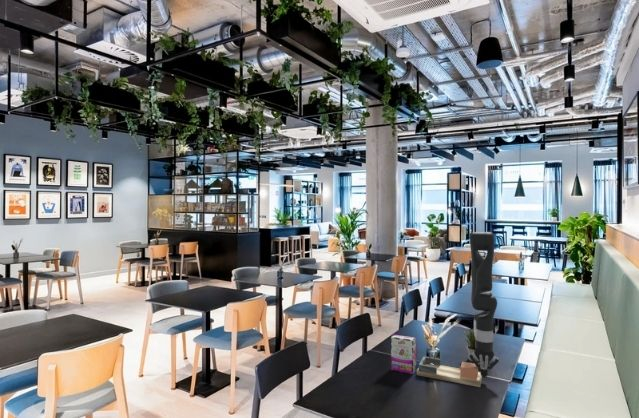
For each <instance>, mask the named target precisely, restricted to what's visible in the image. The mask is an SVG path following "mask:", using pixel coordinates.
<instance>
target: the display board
mask: <svg viewBox="0 0 639 418" xmlns="http://www.w3.org/2000/svg"><path fill="white" fill-rule="evenodd" d="M429 357H430V356H422V359H421V360H420V362H419V364H418V368H416V376H421V377H426V378H429V379H430V378H431V379H436V380H441V381H445V382H446V381H447V382H451V383H457V384H462V385H466V386H473V387H478V388H481V386H482V385H481V384H482V379H483V377H482V376H481V371H478V376H477V380H475V379H470V378H465V377H460V367H459V368H458V367H453V366H448V365H443V364H442V365H441V358H437V357H436V358H435V357H431V358H429ZM434 358H435V359H434ZM430 363H433V364H434V365H431V364H430Z"/></svg>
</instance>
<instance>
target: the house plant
mask: <svg viewBox="0 0 639 418" xmlns="http://www.w3.org/2000/svg"><path fill="white" fill-rule="evenodd" d="M468 333H469V334H468ZM464 334H465V336H466V338H468V340H467V339H466V338H462V340H464V342H465V341H466V342H467V343H468V345H467V346H466V351H467V357H468V360H469V361H471V362H473V361H472V360H471V358H470V357H469V356H470V354H472V353H474V350H475V337H474V327H473V328H471V329H470V328H468V332H466V331H464ZM475 358H476V360H477V361H478V362H480V360H478V358H477V357H476V355H475Z"/></svg>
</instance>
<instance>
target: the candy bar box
mask: <svg viewBox="0 0 639 418" xmlns="http://www.w3.org/2000/svg"><path fill="white" fill-rule="evenodd" d="M416 344H417V343H416V337H413V336H406V335H399V334H393V335H391V337H390V371H393V370H395V371H394V372H398V371H399V372H398V373H403V372H404V373H403V374H409V375H414V374H415V373H416V371H417V368H416V366H417V362H416Z"/></svg>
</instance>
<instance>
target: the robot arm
mask: <svg viewBox="0 0 639 418" xmlns="http://www.w3.org/2000/svg"><path fill="white" fill-rule="evenodd" d="M469 244H470V245H469V246H470V247H469V248H470V255H471V257H470V259H471V261H470V262H471V263H470V264H471V265H470V267H471V268H470V269H471V270H470V271H471V273H470V274H471V295H470V301H471V306H472V307H473V309H474V310H475V311H480V312H476V313H474V315H473V331H474V337H475V350H474V353H472V354H470V356H469V357H470V358H471V360H472V361H471V362H473V363H474V364H475V365H476V366H477V367H478V369H480V372H481V376H482V378H486V377H488V370H492V369H493V368H494V367H495V366H496V365H497V364H498V363H499V361H500V358H499V357H497V356H495V353H494V332H493V330H494V329H493V327H494V326H493V325H494V323H493V322H494V316H495V312H496V310H497V307H498V300H497V298H496V296H494V295H493V293H492V292H491V291H492V290H493V267H494V258H495V257H494V254H495V236H494V233H493V232H491V231H473V232H471V233H470V237H469ZM480 251H481V252H482V251H483V252H485V251H486V256H485V258H484V257H483V256H482V255H481V253H480ZM475 355H476V357H477V358H478V360H479V361H477V360H476V358H475ZM491 360H492V362H491V363H489V362H490V361H491Z"/></svg>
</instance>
